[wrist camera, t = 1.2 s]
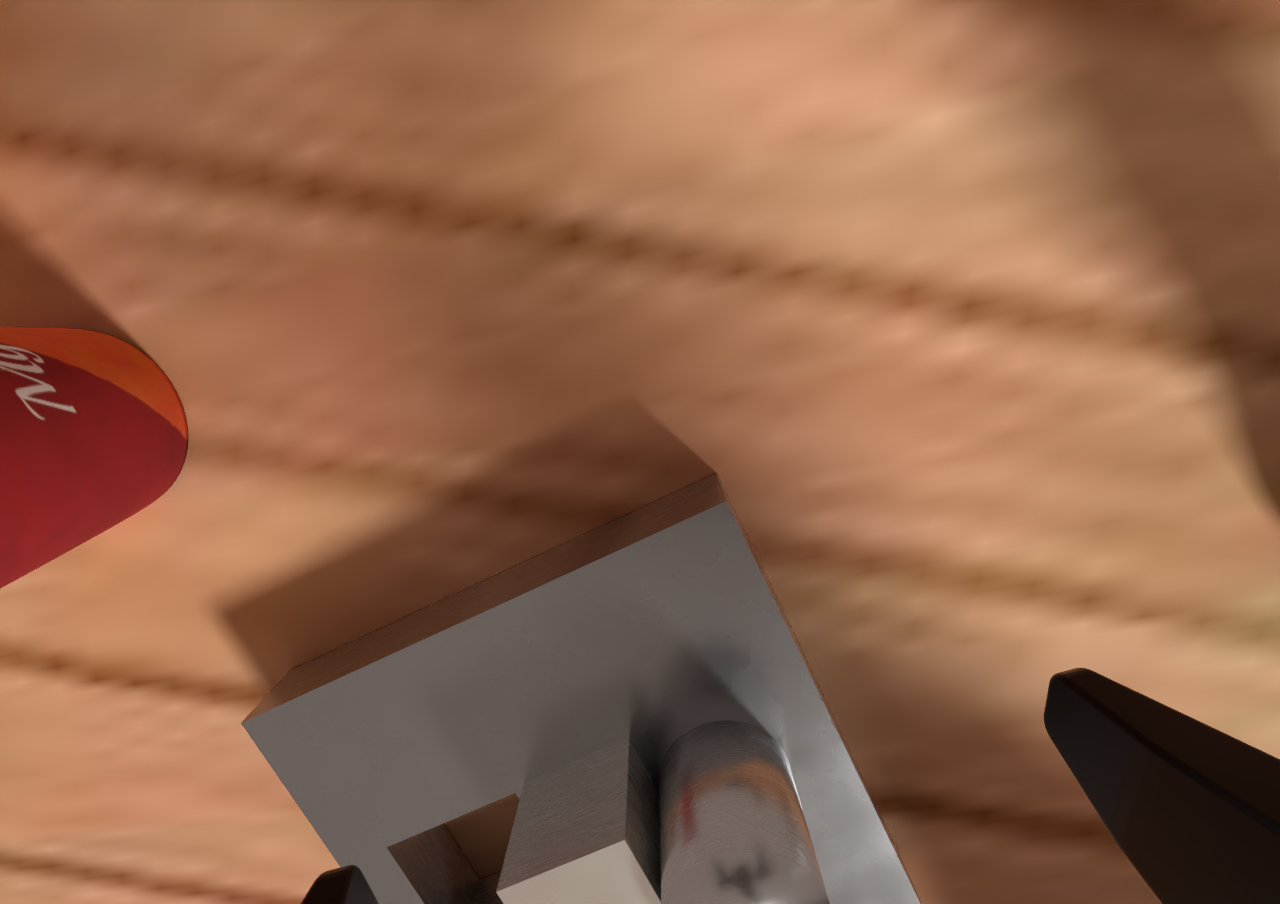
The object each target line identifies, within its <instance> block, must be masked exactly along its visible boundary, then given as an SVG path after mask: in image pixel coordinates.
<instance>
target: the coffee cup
mask: <svg viewBox="0 0 1280 904" xmlns="http://www.w3.org/2000/svg"><path fill="white" fill-rule="evenodd" d="M187 449H188V426H187V420H186V415H185V412H184V408H183V405H182V403H181V400H180V398H179V396H178V394H177V392H176V390H175V388H174V386H173V385H172V383H171V382H170V380H169V379H168V377H167V376H166V375H165V373H164V372H163V371H162V370H161V369H160V368H159V366H158V365H157V364H156V363H155V362H154V361H152V360H151V359H150V358H149V357H148V356H147V355H145V354H144V353H143V352H142V351H140V350H139V349H137V348H136V347H134V346H132V345H131V344H129V343H127V342H125V341H123V340H121V339H119V338H116V337H114V336H111V335H108V334H105V333H100V332H96V331H90V330H83V329H69V328H40V327H0V588H2V587H4V586H6V585H7V584H9V583H11V582H13V581H15V580H17V579H18V578H20V577H22V576H24V575H26V574H28V573H29V572H31V571H33V570H35V569H37V568H39V567H40V566H42V565H44V564H46V563H48V562H50V561H51V560H53V559H55V558H57V557H59V556H60V555H62V554H64V553H66V552H68V551H70V550H71V549H73V548H75V547H77V546H79V545H80V544H82V543H84V542H86V541H88V540H89V539H91V538H93V537H95V536H97V535H99V534H100V533H102V532H104V531H106V530H108V529H109V528H111V527H113V526H114V525H116V524H118V523H120V522H121V521H123V520H125V519H127V518H128V517H130V516H132V515H134V514H135V513H137V512H138V511H140V510H142V509H143V508H145V507H146V506H148V505H150V504H151V503H153V502H154V501H155V500H157V499H158V498H159V497H161V496H162V495H163V494H164V493H165V492H166V491H167V490H168V489H169V488H170V487H171V486H172V485H173V483H174V482H175V480H176V479H177V477H178V476H179V474H180V472H181V470H182V467H183V465H184V462H185V458H186V454H187Z"/></svg>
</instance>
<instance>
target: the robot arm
mask: <svg viewBox="0 0 1280 904" xmlns="http://www.w3.org/2000/svg"><path fill="white" fill-rule="evenodd" d="M1044 723H1045V727H1046V730H1047V732H1048V734H1049V736H1050V738H1051V740H1052V741H1053V743H1054V744H1055V746H1056V748H1057V749H1058V751H1059V752H1060V754H1061V755H1062V757H1063V759H1064V760H1065V762H1066V763H1067V765H1068V767H1069V768H1070V770H1071V771H1072V773H1073V774H1074V776H1075V778H1076V779H1077V781H1078V782H1079V784H1080V786H1081V787H1082V789H1083V790H1084V792H1085V793H1086V795H1087V797H1088V798H1089V800H1090V801H1091V803H1092V805H1093V806H1094V808H1095V809H1096V811H1097V813H1098V814H1099V816H1100V817H1101V819H1102V820H1103V822H1104V824H1105V825H1106V827H1107V828H1108V830H1109V831H1110V833H1111V834H1112V836H1113V837H1114V839H1115V840H1116V842H1117V843H1118V845H1119V846H1120V848H1121V849H1122V851H1123V852H1124V853H1125V855H1126V856H1127V857H1128V859H1129V860H1130V862H1131V863H1132V864H1133V866H1134V867H1135V868H1136V870H1137V871H1138V872H1139V874H1140V875H1141V876H1142V878H1143V879H1144V880H1145V881H1146V883H1147V884H1148V885H1149V887H1150V888H1151V889H1152V891H1153V892H1154V893H1155V895H1156V896H1157V897H1158V898H1159V900H1160V901H1161V902H1162V904H1280V759H1278V758H1276V757H1274V756H1271V755H1269V754H1267V753H1265V752H1263V751H1261V750H1259V749H1257V748H1255V747H1252V746H1250V745H1248V744H1246V743H1244V742H1242V741H1240V740H1238V739H1235V738H1233V737H1231V736H1229V735H1227V734H1225V733H1223V732H1221V731H1219V730H1216V729H1214V728H1212V727H1210V726H1208V725H1206V724H1204V723H1202V722H1200V721H1197V720H1195V719H1193V718H1191V717H1189V716H1187V715H1185V714H1183V713H1181V712H1178V711H1176V710H1174V709H1172V708H1170V707H1168V706H1166V705H1164V704H1162V703H1159V702H1157V701H1155V700H1153V699H1151V698H1149V697H1147V696H1145V695H1143V694H1140V693H1138V692H1136V691H1134V690H1132V689H1130V688H1128V687H1126V686H1123V685H1121V684H1119V683H1117V682H1115V681H1113V680H1111V679H1109V678H1107V677H1104V676H1102V675H1100V674H1098V673H1096V672H1094V671H1092V670H1089V669H1085V668H1075V669H1071V670H1068V671H1064V672H1060V673H1057V674H1055V675H1053V676H1052V678H1051V679H1050V682H1049V688H1048V694H1047V700H1046V706H1045V712H1044ZM301 904H378V901H377V899H376V897H375V895H374V894H373V892H372V890H371V888H370V886H369V884H368V882H367V881H366V879H365V877H364V875H363V873H362V871H361V870H360V868H359V867H357V866H355V865H348V866H344V867H341V868H337V869H333V870H330V871H326V872H324V873H322V874H321V875H320V876H319V877H318V878H317V879H316V880H315V882H314V883H313V885H312V886H311V888H310V890H309V891H308V893H307V894H306V896H305V898H304V899H303V901H302V902H301Z"/></svg>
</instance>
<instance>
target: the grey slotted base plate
mask: <svg viewBox="0 0 1280 904" xmlns="http://www.w3.org/2000/svg"><path fill="white" fill-rule="evenodd" d="M241 724H242V725H243V726H244V728H245V729H246V731H247V732H248V734H249V735H250V737H251V738H252V739H253V741H254V742H255V744H256V745H257V747H258V748H259V750H260V751H261V752H262V754H263V755H264V757H265V758H266V760H267V761H268V763H269V764H270V766H271V767H272V768H273V770H274V771H275V773H276V774H277V776H278V777H279V779H280V780H281V781H282V783H283V784H284V786H285V787H286V789H287V790H288V792H289V793H290V794H291V796H292V797H293V799H294V800H295V802H296V803H297V805H298V806H299V807H300V809H301V810H302V812H303V813H304V815H305V816H306V818H307V819H308V820H309V822H310V823H311V825H312V826H313V828H314V829H315V831H316V832H317V834H318V835H319V836H320V838H321V839H322V841H323V842H324V844H325V845H326V847H327V848H328V849H329V851H330V852H331V854H332V855H333V857H334V858H335V860H336V861H337V862H338V864H339V865H340V867H344V866H348V865H355V866H357V867H359V868H360V870H361V871H362V873H363V875H364V877H365V879H366V881H367V882H368V884H369V886H370V888H371V890H372V892H373V894H374V895H375V897H376V899H377V901H378V904H921V901H920V899H919V897H918V894H917V892H916V890H915V888H914V885H913V883H912V881H911V878H910V876H909V874H908V872H907V869H906V867H905V865H904V863H903V860H902V858H901V856H900V854H899V852H898V850H897V848H896V845H895V843H894V841H893V839H892V837H891V835H890V833H889V831H888V829H887V827H886V825H885V823H884V820H883V818H882V816H881V814H880V812H879V810H878V808H877V806H876V804H875V802H874V800H873V798H872V795H871V793H870V791H869V789H868V787H867V785H866V783H865V781H864V779H863V777H862V775H861V773H860V770H859V768H858V766H857V764H856V762H855V760H854V758H853V756H852V754H851V752H850V750H849V748H848V746H847V743H846V741H845V739H844V737H843V735H842V733H841V731H840V729H839V727H838V725H837V723H836V721H835V718H834V716H833V714H832V712H831V710H830V708H829V706H828V704H827V702H826V700H825V698H824V696H823V693H822V691H821V689H820V687H819V685H818V683H817V681H816V679H815V677H814V675H813V673H812V671H811V668H810V666H809V664H808V662H807V660H806V658H805V656H804V654H803V652H802V650H801V648H800V646H799V643H798V641H797V639H796V637H795V635H794V633H793V631H792V629H791V627H790V625H789V623H788V621H787V618H786V616H785V614H784V612H783V610H782V608H781V606H780V604H779V602H778V600H777V598H776V596H775V593H774V591H773V589H772V587H771V585H770V583H769V581H768V579H767V577H766V575H765V573H764V571H763V569H762V566H761V564H760V562H759V560H758V558H757V556H756V554H755V552H754V550H753V548H752V546H751V544H750V541H749V539H748V537H747V535H746V533H745V531H744V529H743V527H742V525H741V523H740V521H739V519H738V516H737V514H736V512H735V510H734V508H733V506H732V504H731V502H730V500H729V498H728V496H727V494H726V491H725V489H724V487H723V485H722V483H721V481H720V479H719V477H718V475H717V473H715V474H713V475H711V476H709V477H706V478H704V479H702V480H700V481H698V482H696V483H693V484H691V485H689V486H687V487H685V488H683V489H680V490H678V491H676V492H674V493H672V494H670V495H668V496H665V497H663V498H661V499H659V500H657V501H655V502H652V503H650V504H648V505H646V506H644V507H642V508H639V509H637V510H635V511H633V512H631V513H629V514H627V515H624V516H622V517H620V518H618V519H616V520H614V521H611V522H609V523H607V524H605V525H603V526H601V527H598V528H596V529H594V530H592V531H590V532H588V533H585V534H583V535H581V536H579V537H577V538H575V539H573V540H570V541H568V542H566V543H564V544H562V545H560V546H557V547H555V548H553V549H551V550H549V551H547V552H544V553H542V554H540V555H538V556H536V557H534V558H531V559H529V560H527V561H525V562H523V563H521V564H519V565H516V566H514V567H512V568H510V569H508V570H506V571H503V572H501V573H499V574H497V575H495V576H493V577H490V578H488V579H486V580H484V581H482V582H480V583H477V584H475V585H473V586H471V587H469V588H467V589H465V590H462V591H460V592H458V593H456V594H454V595H452V596H449V597H447V598H445V599H443V600H441V601H439V602H436V603H434V604H432V605H430V606H428V607H426V608H424V609H421V610H419V611H417V612H415V613H413V614H411V615H408V616H406V617H404V618H402V619H400V620H398V621H395V622H393V623H391V624H389V625H387V626H385V627H382V628H380V629H378V630H376V631H374V632H372V633H370V634H367V635H365V636H363V637H361V638H359V639H357V640H354V641H352V642H350V643H348V644H346V645H344V646H341V647H339V648H337V649H335V650H333V651H331V652H328V653H326V654H324V655H322V656H320V657H318V658H316V659H313V660H311V661H309V662H307V663H305V664H303V665H300V666H298V667H296V668H294V669H292V670H290V671H289V672H288V673H287V674H286V675H285V676H284V677H283V679H282V680H281V681H280V682H279V683H278V684H277V685H276V686H275V687H274V688H273V689H272V690H271V691H270V692H269V694H268V695H267V696H266V697H265V698H264V699H263V700H262V701H261V702H260V703H259V704H258V705H257V706H256V708H255V709H254V710H253V711H252V712H251V713H250V714H249V715H248V716H247V717H246V718H245V719H244V720H243V722H242V723H241ZM514 793H516V795H517V797H518V798H519V803H518V807H517V811H516V815H515V819H514V823H513V827H512V831H511V835H510V839H509V843H508V847H507V851H506V855H505V859H504V863H503V867H502V871H500V872H498V873H495V874H493V875H491V876H488V877H486V878H483V879H481V880H479V878H478V876H477V875H476V873H475V872H474V870H473V869H472V867H471V866H470V864H469V862H468V861H467V859H466V858H465V856H464V855H463V853H462V851H461V850H460V848H459V847H458V845H457V844H456V842H455V841H454V839H453V837H452V836H451V834H450V833H449V831H448V830H447V828H446V827H445V825H444V823H445V822H448V821H450V820H452V819H455V818H457V817H460V816H462V815H464V814H467V813H469V812H471V811H474V810H476V809H479V808H481V807H483V806H486V805H488V804H490V803H493V802H495V801H497V800H500V799H502V798H505V797H507V796H509V795H512V794H514Z"/></svg>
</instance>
